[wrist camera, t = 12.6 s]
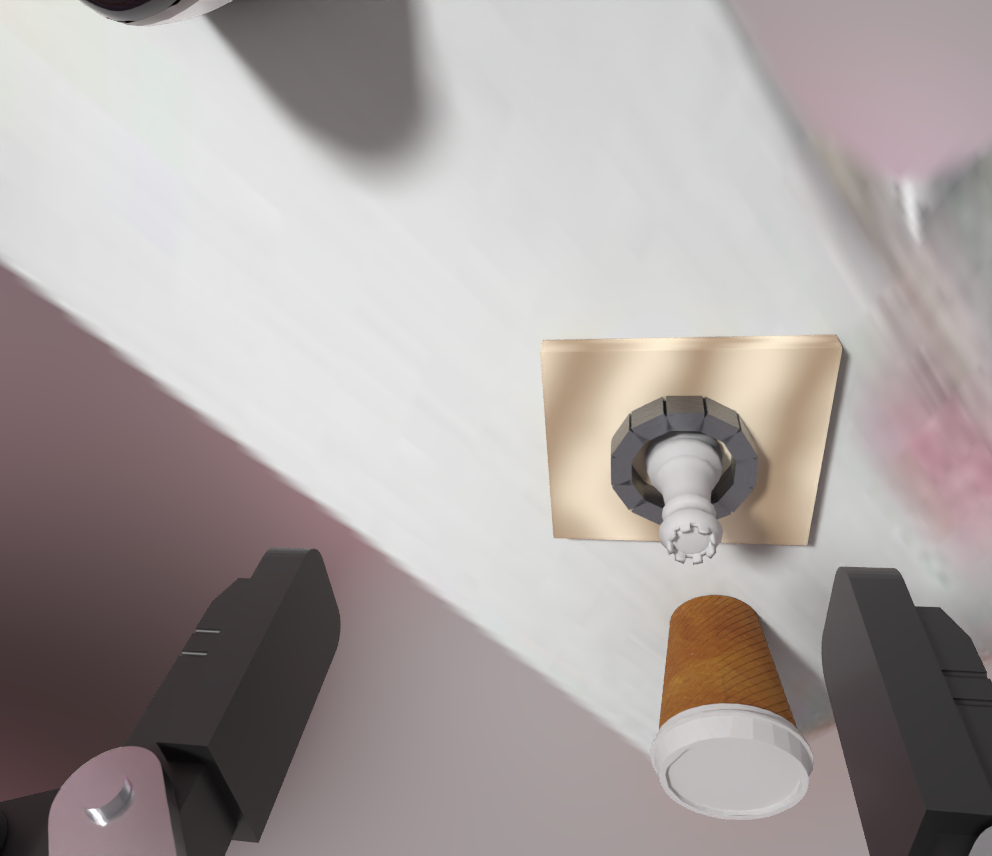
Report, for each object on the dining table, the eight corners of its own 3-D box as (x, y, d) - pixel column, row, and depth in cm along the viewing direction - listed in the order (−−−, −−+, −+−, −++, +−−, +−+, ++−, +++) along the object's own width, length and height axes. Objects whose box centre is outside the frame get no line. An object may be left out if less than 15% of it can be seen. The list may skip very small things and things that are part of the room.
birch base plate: (835, 334, 40) (842, 347, 39) (802, 529, 48) (807, 545, 47) (542, 340, 43) (540, 352, 42) (555, 523, 51) (553, 538, 50)
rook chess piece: (738, 449, 43) (757, 543, 37) (686, 494, 46) (695, 590, 39) (679, 409, 43) (687, 498, 36) (629, 457, 45) (628, 549, 38)
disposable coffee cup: (743, 559, 50) (770, 714, 40) (806, 643, 54) (845, 804, 44) (622, 606, 54) (620, 757, 44) (688, 681, 58) (700, 836, 48)
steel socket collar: (759, 395, 41) (764, 412, 40) (746, 508, 46) (750, 528, 44) (610, 395, 43) (609, 412, 41) (612, 505, 47) (611, 524, 46)
